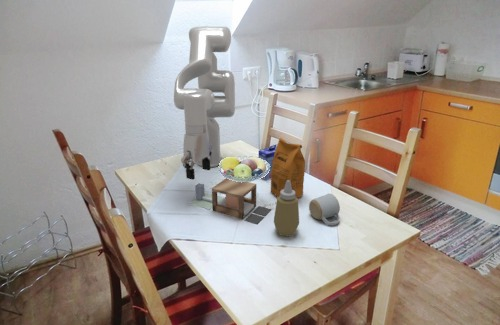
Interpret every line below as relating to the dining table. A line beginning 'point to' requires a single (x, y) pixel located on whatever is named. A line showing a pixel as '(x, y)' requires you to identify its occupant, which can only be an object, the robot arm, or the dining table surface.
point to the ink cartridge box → (268, 158)
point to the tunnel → (237, 191)
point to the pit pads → (257, 218)
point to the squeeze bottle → (286, 211)
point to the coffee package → (287, 168)
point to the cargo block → (232, 201)
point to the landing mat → (205, 202)
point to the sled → (201, 195)
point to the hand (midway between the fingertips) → (198, 174)
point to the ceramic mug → (325, 208)
